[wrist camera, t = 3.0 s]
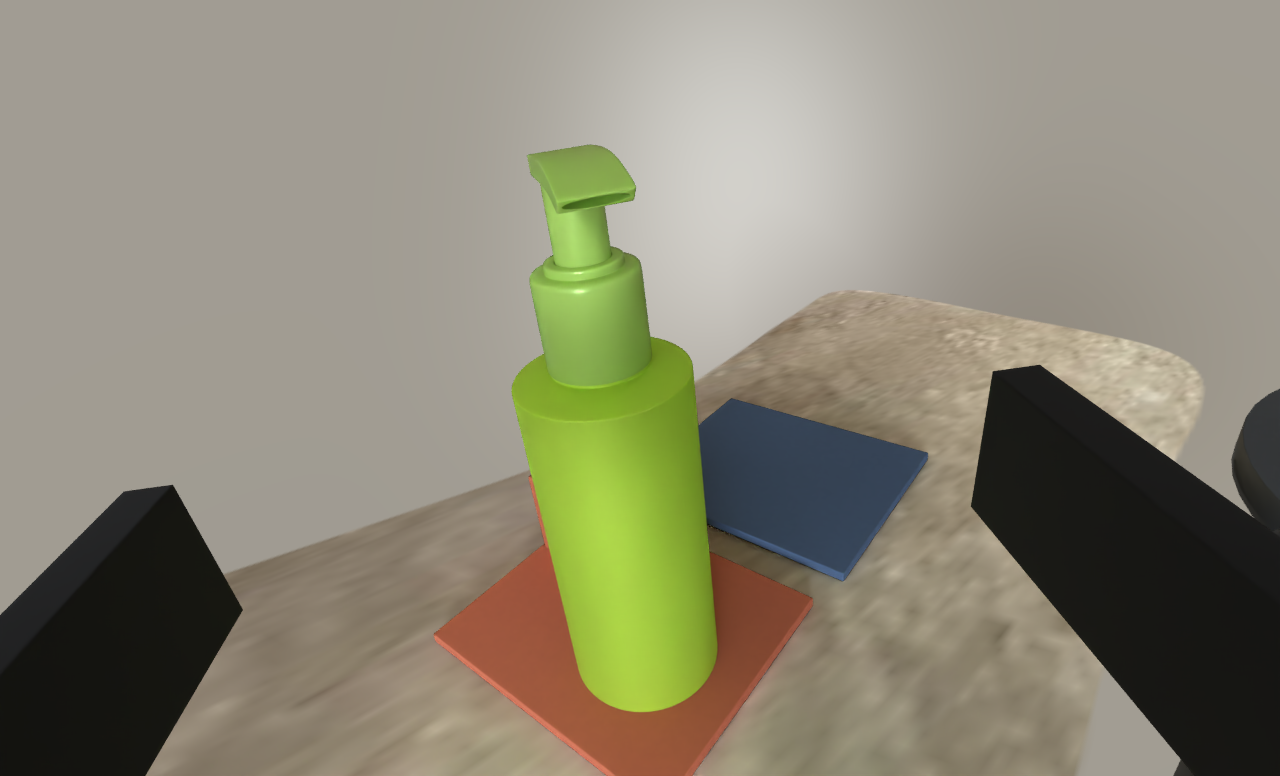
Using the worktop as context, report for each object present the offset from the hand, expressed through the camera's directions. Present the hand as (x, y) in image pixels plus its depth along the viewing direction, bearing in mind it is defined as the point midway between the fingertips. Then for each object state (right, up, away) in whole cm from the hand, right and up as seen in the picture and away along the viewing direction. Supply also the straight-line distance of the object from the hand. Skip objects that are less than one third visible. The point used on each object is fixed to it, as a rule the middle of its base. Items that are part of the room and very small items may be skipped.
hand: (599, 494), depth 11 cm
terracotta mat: (0, -9, +18) cm, 21 cm away
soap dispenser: (+1, -10, +16) cm, 19 cm away
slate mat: (+8, -3, +27) cm, 28 cm away
